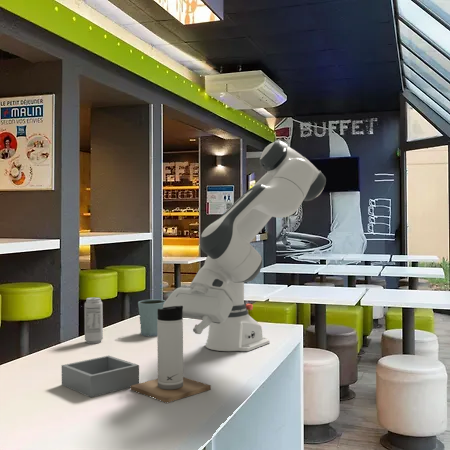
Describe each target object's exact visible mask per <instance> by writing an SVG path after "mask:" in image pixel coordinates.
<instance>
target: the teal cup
mask: <svg viewBox="0 0 450 450" xmlns="http://www.w3.org/2000/svg"><path fill="white" fill-rule="evenodd" d="M165 301H166V300H164V299H143V300H140V301H138V302H137V305H138V313H139V325H140V334H141V336H144V337H157V322H158V321H157V319H158V309H163V304H164V303H165Z"/></svg>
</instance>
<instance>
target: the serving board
mask: <svg viewBox="0 0 450 450" xmlns="http://www.w3.org/2000/svg"><path fill="white" fill-rule="evenodd" d="M211 388H212V386H211V385H210V384H207V383H203V382H201V381H198V380H194V379H191V378H188V377H184V376H183V386H182V387H181V388H179V389H174V390H165V389H161V388H159V387H158V378H155V379H151V380H148V381H144V382H139V384H135V385H132V386H131V387H130V390H131V391H133V392H135V391H137V392H136V393H138V392H139V393H138V394H141V393H142V395H143V394H145V395H144V396H146V395H148V396H147V397H149V396H151V397H154V398H156V399H155V400H157V399H158V400H157V401H159V400H161V401H160V402H162V401H163V403H165V402H166V403H165V404H168V403H171V401H172V402H174V400H175V401H177V400H181V399H185V398H187V397H191V396H194V395H197V394H200V393H204V392H207V391H210V390H211ZM151 397H150V398H151ZM154 398H153V399H154ZM167 402H168V403H167Z"/></svg>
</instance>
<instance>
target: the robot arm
mask: <svg viewBox="0 0 450 450" xmlns="http://www.w3.org/2000/svg"><path fill="white" fill-rule="evenodd" d="M259 166H260V167H261V168H262V169H263V171H264V172H265V174H264V175H263V176H261V178H260V179H259V180H257V182H256V183H255V184H254V185H253V186H252V187H250V188H249V189H247V191H245V192H244V193H243V194H242V195H241V196H240V197H239V198H238V199H237V200H235V202H234V203H233V204H232V205H230V206H229V208H227V210H225V211H224V212H223V213H222V214H221V215H220V216H219V217H217V218H216V219H215V220H214V221H213V222H212V223H210V224H209V225H208V226H207V227H205V229H204V230H203V231H202V232H201V234H200V249H201V251H202V252H203V253H204V254H206V255H207V257H206V258H205V260H204V264H203V266H202V267H200V269H198V272H197V273H196V274H195V276H194V278H193V279H192V281H191V283H190V285H181V286H180V287H177V288H175V289H174V290H173V291H172V292H171V293H170V295H169V296H168V297H167V298H166V300H165V303H164V304H163V308H164V307H172V306H183V314H182V316H183V318H185V319H193V320H199V321H200V322H199V323H198V324H195V325H194V327H193V328H192V330H193V331H192V332H193V333H195V334H196V335H201V334H202V333H203V331H204V330H205V329H206V328H208V332H207V333H208V334H207V339H206V343H205V348H207V349H209V350H212V351H218V352H219V351H220V352H249V351H252V350H254V349H258V348H259V347H262V346H265V345H268V344H270V339H268V338H266V337H263V336H264V335H263V329H262V325H261V324H260V323H259V322H258V321H257V320H255V319H254V318H253V317H252V316H250V314H249V312H248V310H249V311H252V310H253V309H254V305H253V304H252V303H245V283H249V282H252V281H254V280H255V279H256V278H257V277H258V275H259V273H260V271H261V269H262V266H263V257H262V256H261V254H260V252H258V250H257V249H255V247H254V246H253V245H252V244H251V243H252V241H253V240H254V239H255V238H256V236H257V235H258V234H259V233H260V232H261V230H263V229H264V227H265V226H266V225H267V224H268V222H269V221H270V220H271V219H272V218H277V219H279V218H280V219H281V218H282V219H283V218H288V217H291V216H292V215H294V214H295V213H296V211H298V209H299V208H300V206H301V205H302V203H303V201H304V202H309V201H311V202H312V201H313V200H314V199H316V198H317V197H319V196H320V195H321V194H322V192H323V190H324V188H325V187H326V184H327V183H326V182H327V178H326V176H325V175H324V173H322V171H321V170H319V169H318V168H317V167H316V166H315V165H314V164H313V163H312V162H311V161H310V160H309V159H308V158H306V156H303V155H302V154H301V153H299V152H298V151H296V150H295V149H294V148H292V147H290V146H288V144H287V143H286V142H284V141H281V140H274V141H273V142H272V143H269V144H268V145H267V146H265V147H264V149H263V151H262V153H261V155H260V158H259Z"/></svg>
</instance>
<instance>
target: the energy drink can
mask: <svg viewBox="0 0 450 450" xmlns="http://www.w3.org/2000/svg"><path fill="white" fill-rule="evenodd" d="M85 300H86V301H84V341H85V343H87V344H99V343H101V342H102V340H103V339H104V336H103V334H104V333H103V332H104V331H103V330H104V329H103V326H104V325H103V324H104V323H103V322H104V321H103V320H104V319H103V316H104V315H103V313H104V312H103V301H102V300H101V297H97V296H96V297H95V296H93V297H87V298H85Z"/></svg>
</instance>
